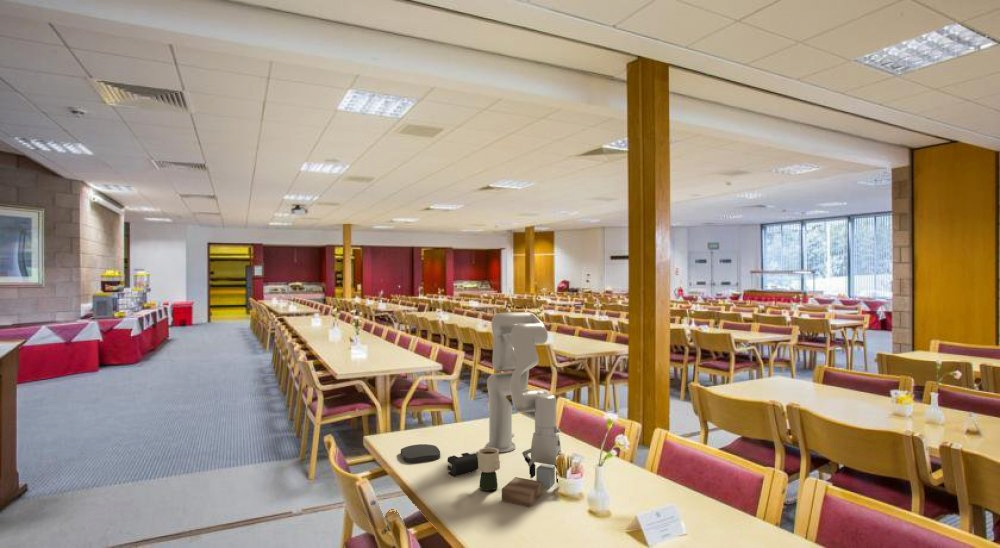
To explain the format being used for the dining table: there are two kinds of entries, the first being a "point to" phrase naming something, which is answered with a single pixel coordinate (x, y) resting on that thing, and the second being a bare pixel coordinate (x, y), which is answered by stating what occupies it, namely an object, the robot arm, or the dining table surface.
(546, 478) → the grey block
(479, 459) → the character mug
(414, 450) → the media streaming box
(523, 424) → the dining table surface
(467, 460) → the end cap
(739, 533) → the dining table surface
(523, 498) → the block
